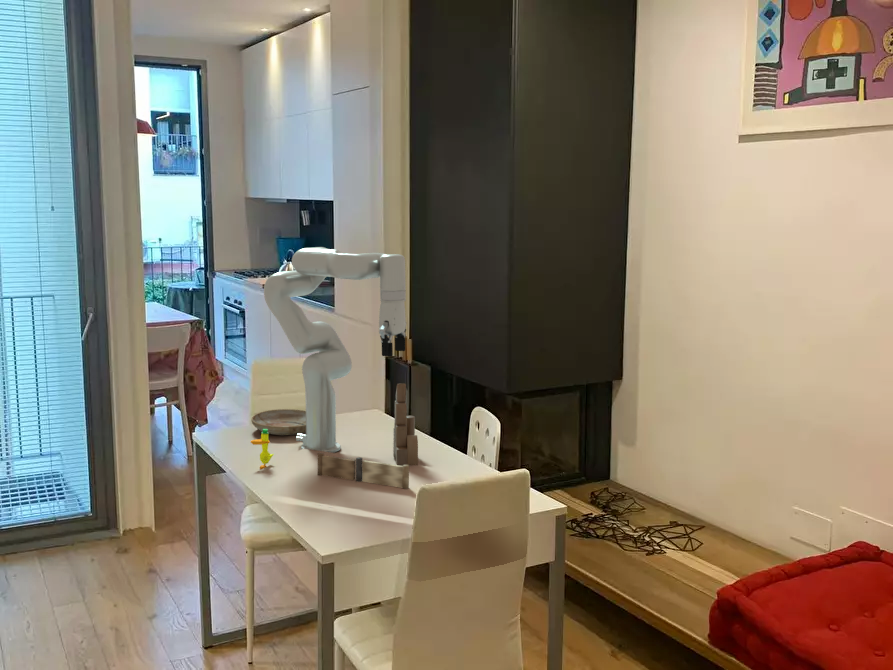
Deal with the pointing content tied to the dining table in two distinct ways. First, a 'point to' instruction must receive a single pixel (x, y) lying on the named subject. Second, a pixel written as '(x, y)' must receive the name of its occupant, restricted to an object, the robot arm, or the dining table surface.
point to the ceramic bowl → (281, 421)
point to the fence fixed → (339, 467)
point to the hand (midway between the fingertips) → (393, 353)
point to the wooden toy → (404, 431)
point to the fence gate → (385, 474)
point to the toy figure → (263, 448)
